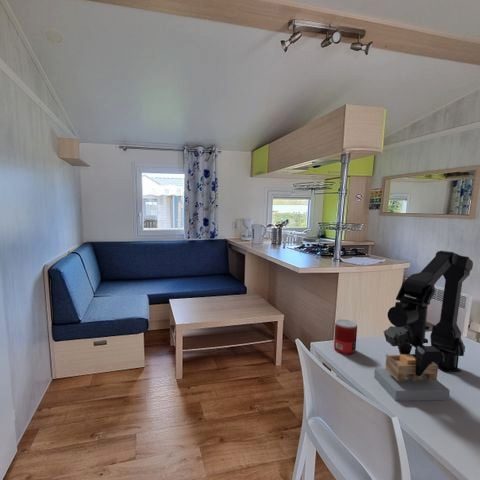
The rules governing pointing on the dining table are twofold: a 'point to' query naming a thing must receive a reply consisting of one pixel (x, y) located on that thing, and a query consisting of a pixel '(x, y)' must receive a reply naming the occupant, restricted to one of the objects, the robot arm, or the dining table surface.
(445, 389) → the dock
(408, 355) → the block
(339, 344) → the canned food
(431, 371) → the shallow cardboard tray
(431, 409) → the dining table surface
